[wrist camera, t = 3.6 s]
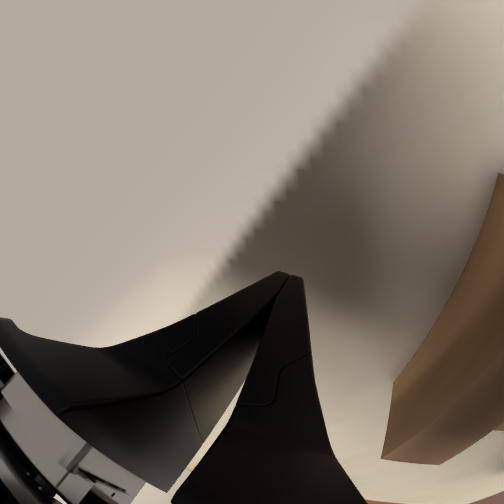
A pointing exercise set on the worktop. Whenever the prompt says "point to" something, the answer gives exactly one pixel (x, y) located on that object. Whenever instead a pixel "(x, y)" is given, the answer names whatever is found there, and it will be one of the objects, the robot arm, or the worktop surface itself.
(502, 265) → the t block
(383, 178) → the worktop surface
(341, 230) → the worktop surface
